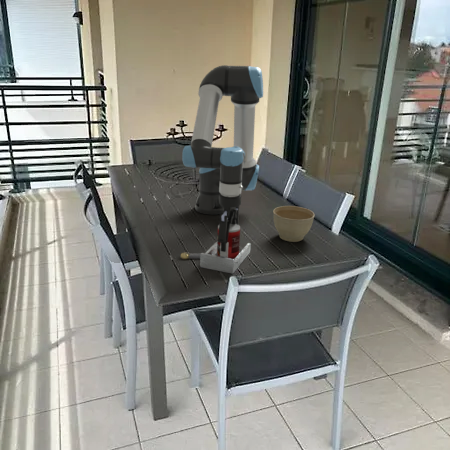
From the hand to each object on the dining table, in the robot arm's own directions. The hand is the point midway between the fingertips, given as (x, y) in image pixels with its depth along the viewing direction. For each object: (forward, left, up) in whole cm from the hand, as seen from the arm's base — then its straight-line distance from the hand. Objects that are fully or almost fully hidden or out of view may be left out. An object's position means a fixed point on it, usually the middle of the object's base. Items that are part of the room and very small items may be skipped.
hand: (228, 254), depth 163 cm
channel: (0, -1, -1) cm, 2 cm away
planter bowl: (+17, +28, -1) cm, 33 cm away
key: (-11, -5, -1) cm, 12 cm away
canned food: (0, 0, 0) cm, 0 cm away
